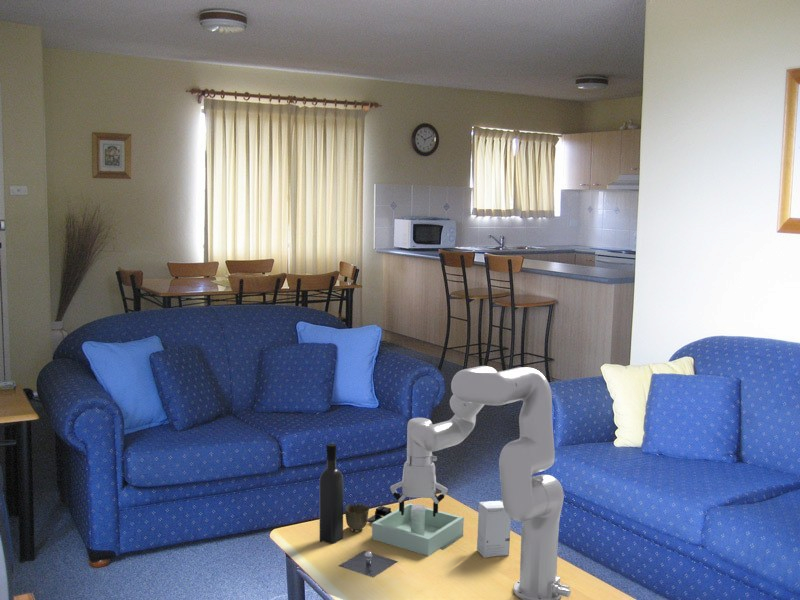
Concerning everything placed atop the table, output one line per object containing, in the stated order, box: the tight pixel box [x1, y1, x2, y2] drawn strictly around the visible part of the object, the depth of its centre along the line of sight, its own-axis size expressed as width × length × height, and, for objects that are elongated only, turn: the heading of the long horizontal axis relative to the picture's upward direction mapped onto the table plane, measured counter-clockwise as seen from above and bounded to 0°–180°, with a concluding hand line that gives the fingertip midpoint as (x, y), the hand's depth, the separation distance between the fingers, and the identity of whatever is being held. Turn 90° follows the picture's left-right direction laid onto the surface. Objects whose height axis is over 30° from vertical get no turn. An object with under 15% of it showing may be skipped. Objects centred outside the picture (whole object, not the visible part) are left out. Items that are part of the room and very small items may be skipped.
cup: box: [344, 503, 370, 533], centre depth 253 cm, size 8×7×8 cm
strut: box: [411, 504, 426, 536], centre depth 249 cm, size 4×4×9 cm
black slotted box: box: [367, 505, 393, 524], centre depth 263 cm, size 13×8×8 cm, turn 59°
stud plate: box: [338, 550, 399, 578], centre depth 230 cm, size 12×12×5 cm
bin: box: [371, 502, 465, 557], centre depth 249 cm, size 20×20×6 cm
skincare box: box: [476, 500, 512, 559], centre depth 240 cm, size 8×6×15 cm
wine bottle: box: [318, 443, 344, 544], centre depth 245 cm, size 6×6×30 cm
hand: (418, 514), depth 248 cm, fingers open, 9 cm apart
